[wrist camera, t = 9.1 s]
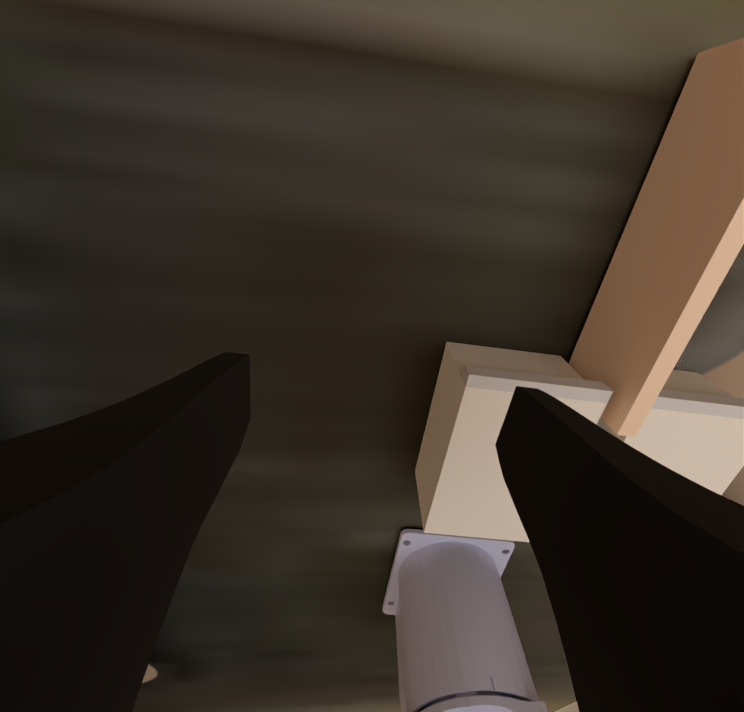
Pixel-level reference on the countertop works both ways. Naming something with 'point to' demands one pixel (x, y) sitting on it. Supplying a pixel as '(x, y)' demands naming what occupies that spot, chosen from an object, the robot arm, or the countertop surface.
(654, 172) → the thin wooden plank
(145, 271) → the countertop surface
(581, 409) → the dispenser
